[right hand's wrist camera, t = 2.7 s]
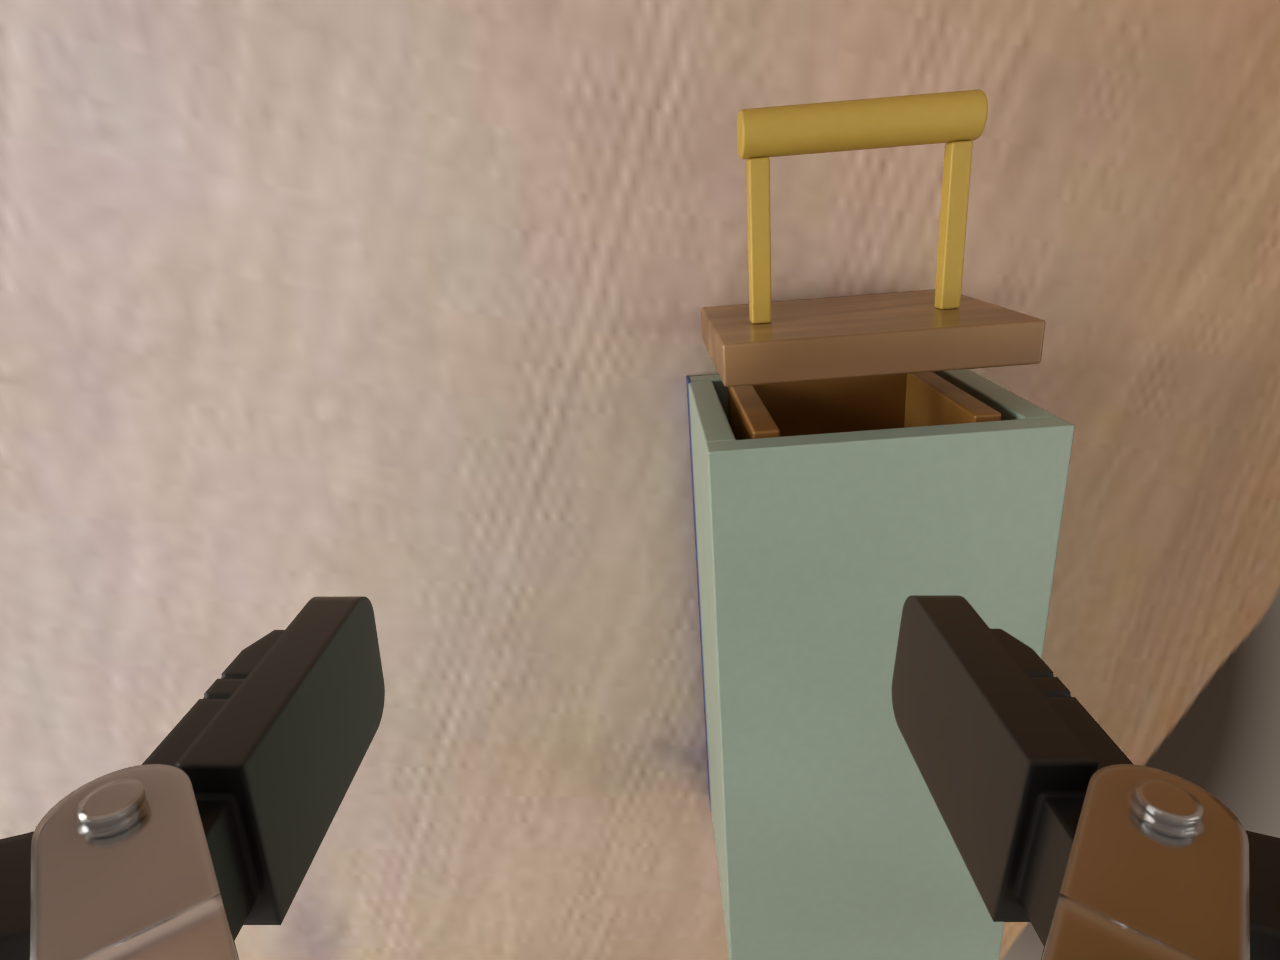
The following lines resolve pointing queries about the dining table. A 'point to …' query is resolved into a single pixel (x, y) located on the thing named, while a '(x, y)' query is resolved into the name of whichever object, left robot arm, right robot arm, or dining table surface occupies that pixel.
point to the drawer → (864, 324)
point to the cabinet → (853, 660)
